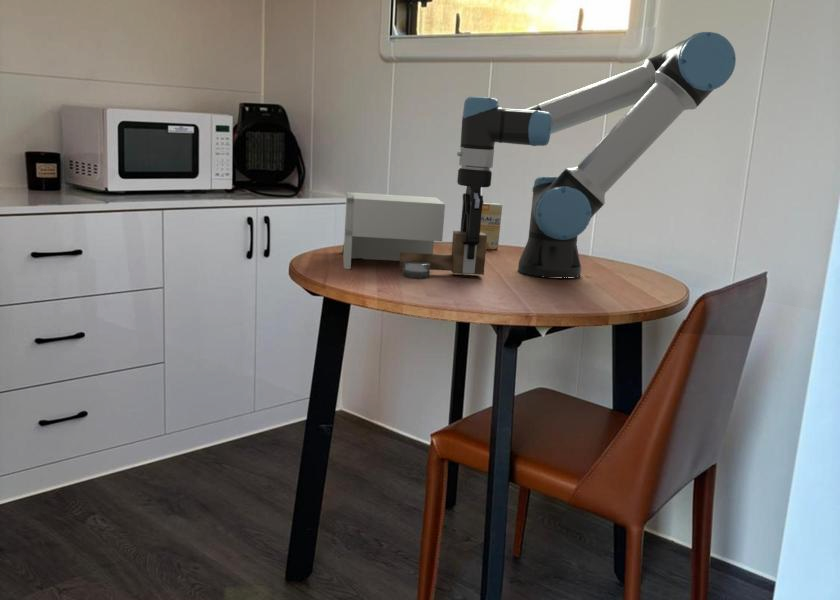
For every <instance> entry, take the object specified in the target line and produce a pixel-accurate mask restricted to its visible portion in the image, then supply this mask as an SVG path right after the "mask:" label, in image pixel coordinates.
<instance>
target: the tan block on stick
mask: <svg viewBox="0 0 840 600" xmlns="http://www.w3.org/2000/svg"><path fill="white" fill-rule="evenodd" d="M479 240H480V241H479V244H477V251H476V262H475V274H474V275H478V276H479V275H481V276H484V275H485V263H486V253H487V252H486V251H487V249H486V242H487V235H486V234H485V233H483V232H480V237H479ZM463 241H465V242H466V232H465V231H460V230H453V231H452V241H451V243H452V246H451V254H438V253H436V254H435V253H433V254H423V253H405V252H400V261H399V269H403V262H404V261H423V262H428V263H430V271H431V270H432V271H451V272H452V273H453V274H458V275H459V274H461V275H472V274H471V273H462V269H463V257H464V245H465V244H463Z"/></svg>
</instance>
